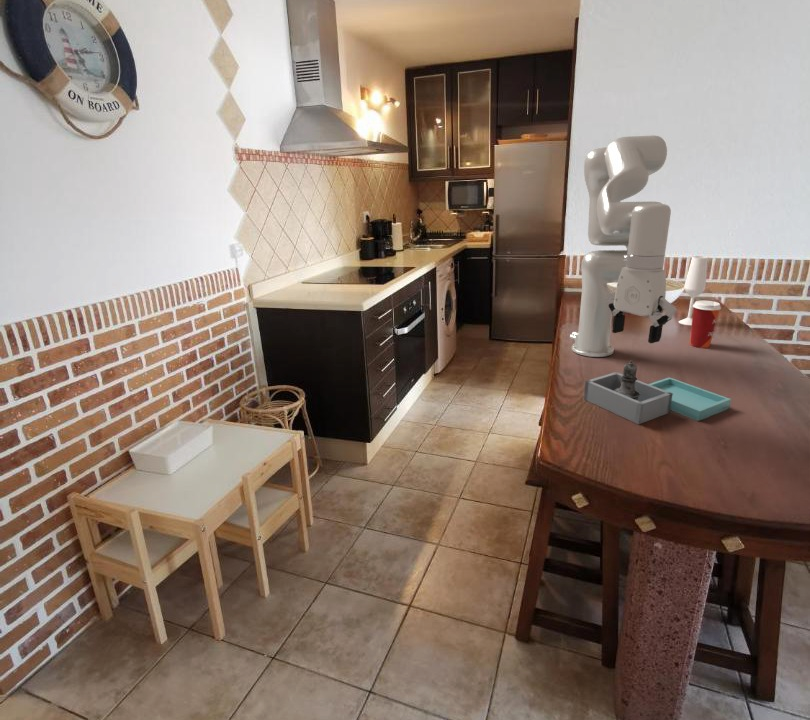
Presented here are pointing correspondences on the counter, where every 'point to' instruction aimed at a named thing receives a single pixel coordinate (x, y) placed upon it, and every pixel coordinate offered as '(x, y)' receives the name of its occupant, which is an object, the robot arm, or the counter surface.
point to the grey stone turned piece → (629, 381)
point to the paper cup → (703, 323)
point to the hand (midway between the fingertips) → (635, 336)
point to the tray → (692, 399)
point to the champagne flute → (695, 283)
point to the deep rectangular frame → (628, 398)
